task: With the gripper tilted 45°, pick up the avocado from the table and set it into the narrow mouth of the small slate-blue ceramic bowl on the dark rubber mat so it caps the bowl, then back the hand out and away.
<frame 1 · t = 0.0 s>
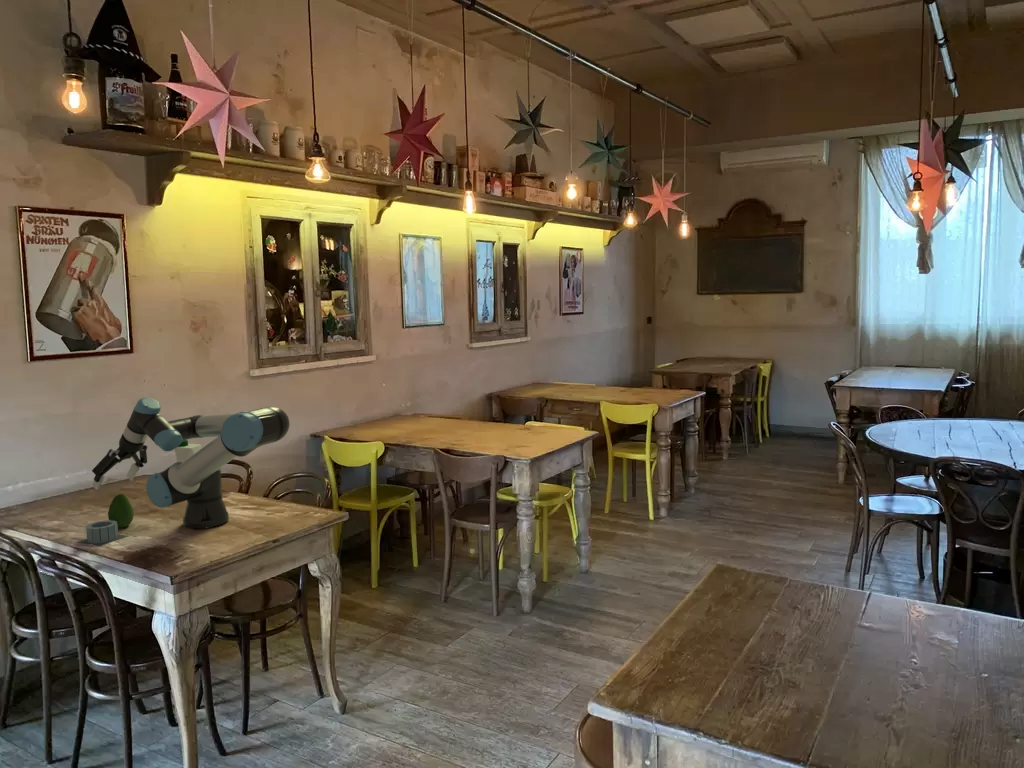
hand: (112, 482, 262), 15 cm above the table, tool tilted 35°, fingers open, 13 cm apart
bowl: (102, 539, 247), resting on placemat
avocado: (121, 528, 261), on the table
placemat: (103, 540, 247), on the table
milk carton: (190, 487, 315), on the table
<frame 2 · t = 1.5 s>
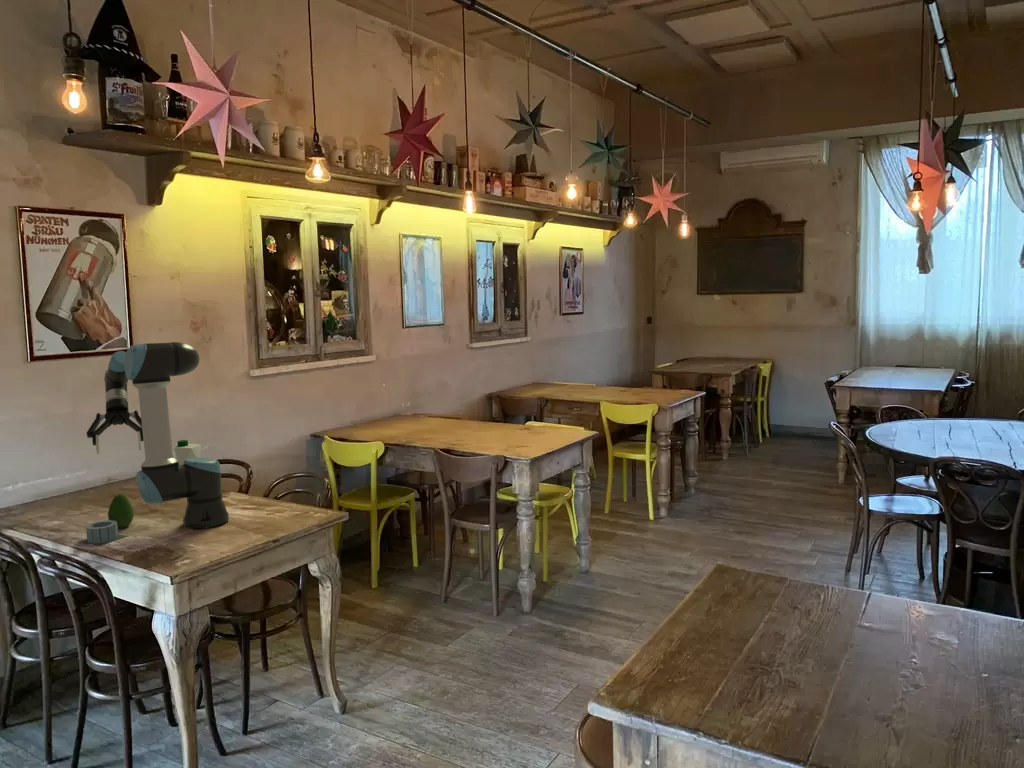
hand: (119, 449, 270), 25 cm above the table, tool tilted 45°, fingers open, 13 cm apart
nothing on the table moved.
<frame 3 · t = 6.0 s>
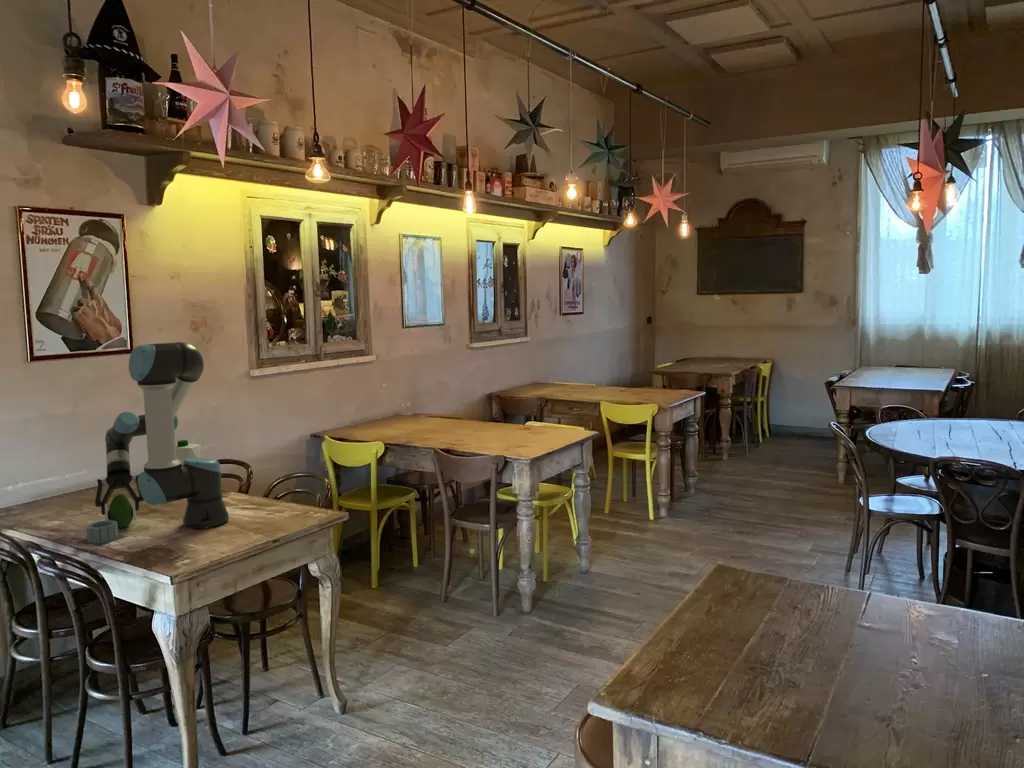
hand: (120, 520, 257), 4 cm above the table, tool tilted 45°, fingers closed on avocado, 8 cm apart
avocado: (121, 528, 261), on the table, touching gripper
everything else where it was.
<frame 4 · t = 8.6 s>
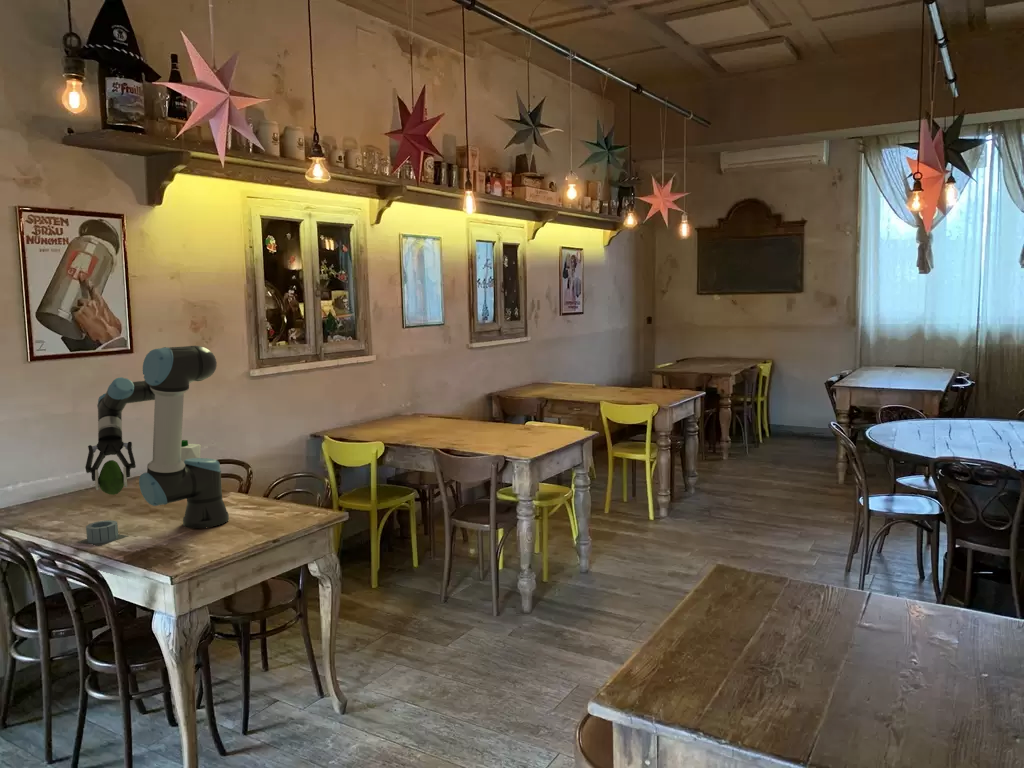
hand: (111, 486, 253), 16 cm above the table, tool tilted 45°, fingers closed on avocado, 8 cm apart
avocado: (112, 494, 256), point 13 cm above the table, touching gripper
everything else where it was.
when the fingers open (10 cm above the table, at t = 11.3 s): avocado drops 3 cm, resting on bowl.
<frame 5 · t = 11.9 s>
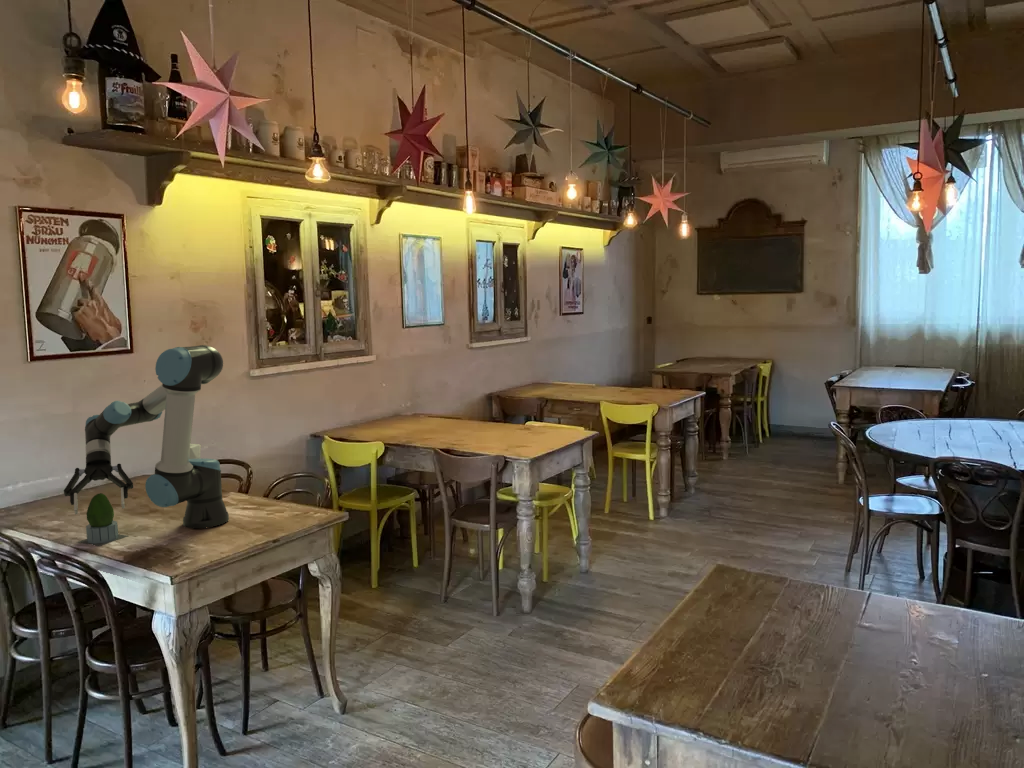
hand: (99, 509, 244), 11 cm above the table, tool tilted 45°, fingers open, 13 cm apart
avocado: (101, 529, 247), point 4 cm above the table, touching bowl
everything else where it was.
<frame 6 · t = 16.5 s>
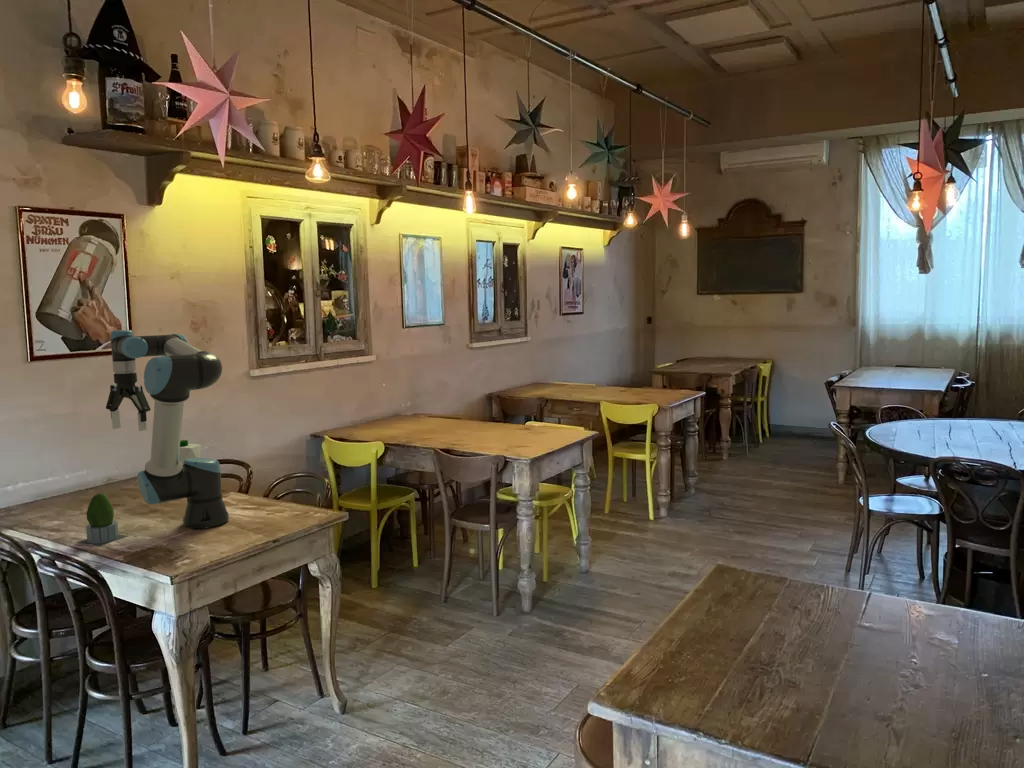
hand: (129, 429, 275), 32 cm above the table, tool pointing down, fingers open, 13 cm apart
nothing on the table moved.
at the end: avocado 0.1 cm off-centre on the bowl, point 3.3 cm above the bowl's base; avocado touching bowl; the gripper is holding nothing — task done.
